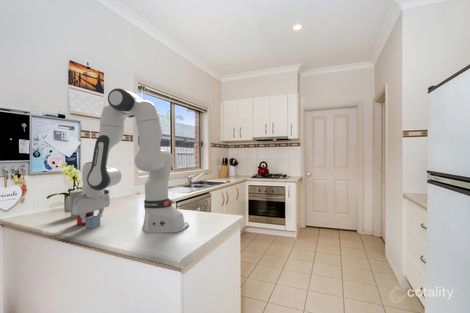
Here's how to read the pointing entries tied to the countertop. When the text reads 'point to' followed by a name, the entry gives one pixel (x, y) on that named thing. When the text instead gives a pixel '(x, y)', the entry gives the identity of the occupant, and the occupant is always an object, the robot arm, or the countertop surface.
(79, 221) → the canned food
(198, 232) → the countertop surface
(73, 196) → the skincare box
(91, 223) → the slate block
